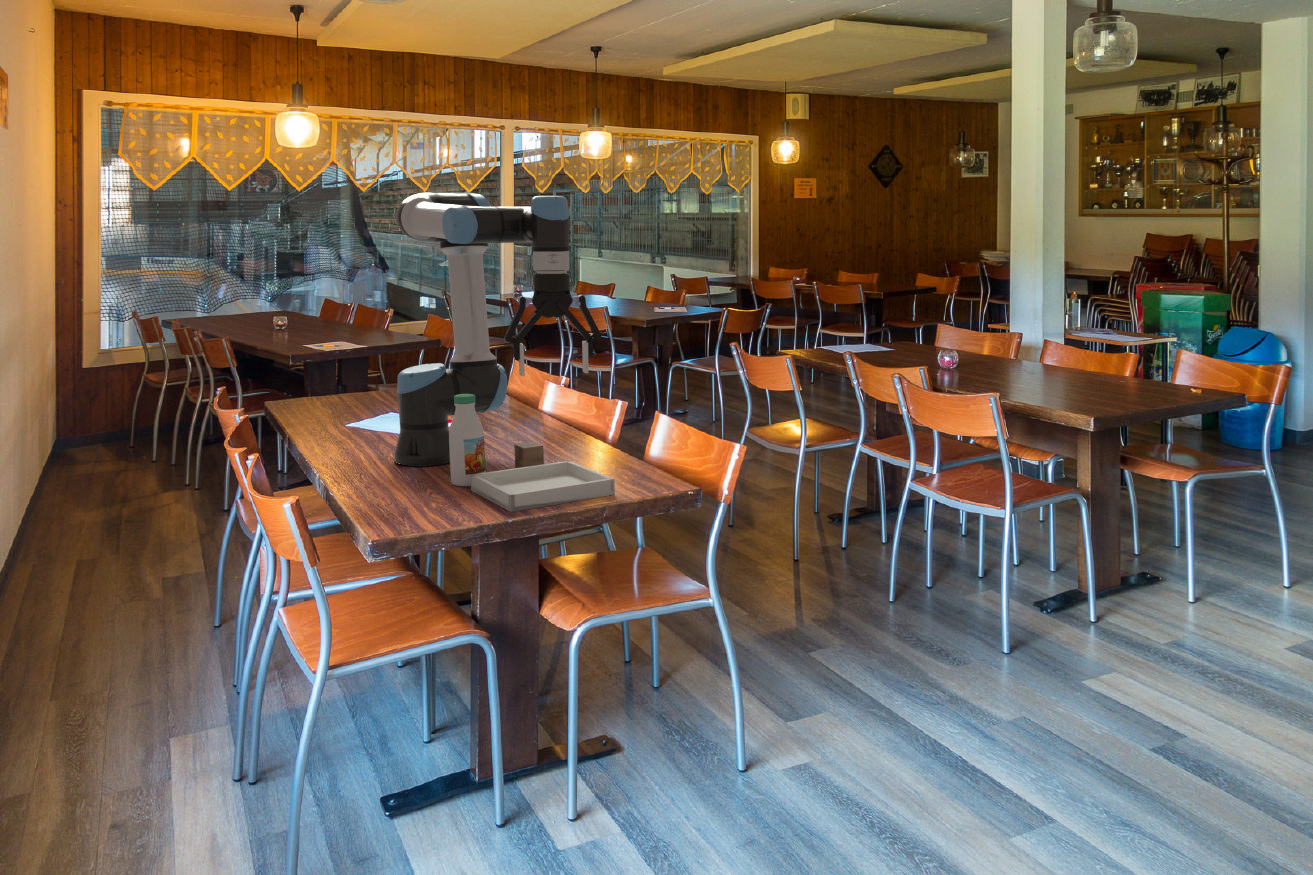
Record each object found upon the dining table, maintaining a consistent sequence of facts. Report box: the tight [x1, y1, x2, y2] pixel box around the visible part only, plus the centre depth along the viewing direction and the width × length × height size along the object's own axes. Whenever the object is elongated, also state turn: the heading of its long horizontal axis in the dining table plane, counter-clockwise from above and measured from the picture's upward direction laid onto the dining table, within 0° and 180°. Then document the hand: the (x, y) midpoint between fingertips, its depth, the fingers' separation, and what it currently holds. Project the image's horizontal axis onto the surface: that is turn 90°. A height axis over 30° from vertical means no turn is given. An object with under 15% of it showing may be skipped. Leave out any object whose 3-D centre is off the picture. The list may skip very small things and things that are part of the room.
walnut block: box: [513, 441, 545, 469], centre depth 232 cm, size 5×5×7 cm
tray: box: [470, 460, 616, 513], centre depth 216 cm, size 21×24×4 cm
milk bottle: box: [449, 394, 486, 487], centre depth 223 cm, size 8×8×20 cm
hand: (554, 373), depth 213 cm, fingers open, 13 cm apart
